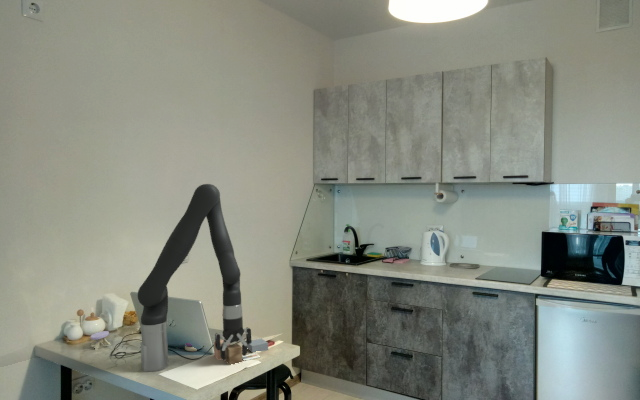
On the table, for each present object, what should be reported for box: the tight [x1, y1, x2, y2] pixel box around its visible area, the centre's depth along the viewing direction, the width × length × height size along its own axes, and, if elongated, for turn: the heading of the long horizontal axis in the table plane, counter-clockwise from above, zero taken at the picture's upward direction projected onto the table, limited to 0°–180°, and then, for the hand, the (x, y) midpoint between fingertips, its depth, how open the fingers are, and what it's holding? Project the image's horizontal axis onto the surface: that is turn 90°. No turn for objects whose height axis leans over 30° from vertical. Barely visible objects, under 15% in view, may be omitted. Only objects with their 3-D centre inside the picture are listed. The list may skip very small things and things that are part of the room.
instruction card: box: [242, 353, 261, 362], centre depth 179 cm, size 7×5×1 cm
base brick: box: [247, 338, 269, 354], centre depth 188 cm, size 7×7×3 cm
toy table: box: [90, 330, 112, 349], centre depth 197 cm, size 10×9×6 cm
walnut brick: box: [225, 343, 243, 366], centre depth 175 cm, size 5×5×6 cm
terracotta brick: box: [213, 339, 231, 361], centre depth 181 cm, size 5×5×6 cm
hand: (234, 357), depth 175 cm, fingers open, 7 cm apart
